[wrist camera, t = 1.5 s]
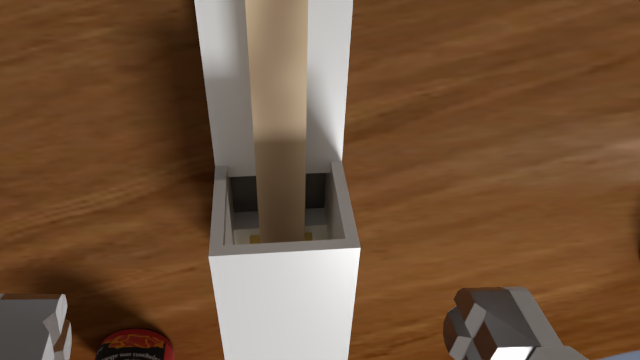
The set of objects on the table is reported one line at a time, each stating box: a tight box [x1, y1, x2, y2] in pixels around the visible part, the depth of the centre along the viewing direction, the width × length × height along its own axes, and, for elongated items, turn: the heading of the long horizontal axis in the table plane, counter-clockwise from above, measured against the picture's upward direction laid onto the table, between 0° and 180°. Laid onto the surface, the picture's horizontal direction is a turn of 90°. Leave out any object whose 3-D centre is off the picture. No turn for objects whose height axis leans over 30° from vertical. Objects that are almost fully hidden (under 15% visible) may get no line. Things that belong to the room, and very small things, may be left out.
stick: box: [245, 0, 308, 244], centre depth 34 cm, size 3×20×3 cm, turn 178°
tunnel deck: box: [194, 0, 360, 360], centre depth 39 cm, size 9×41×11 cm, turn 178°
